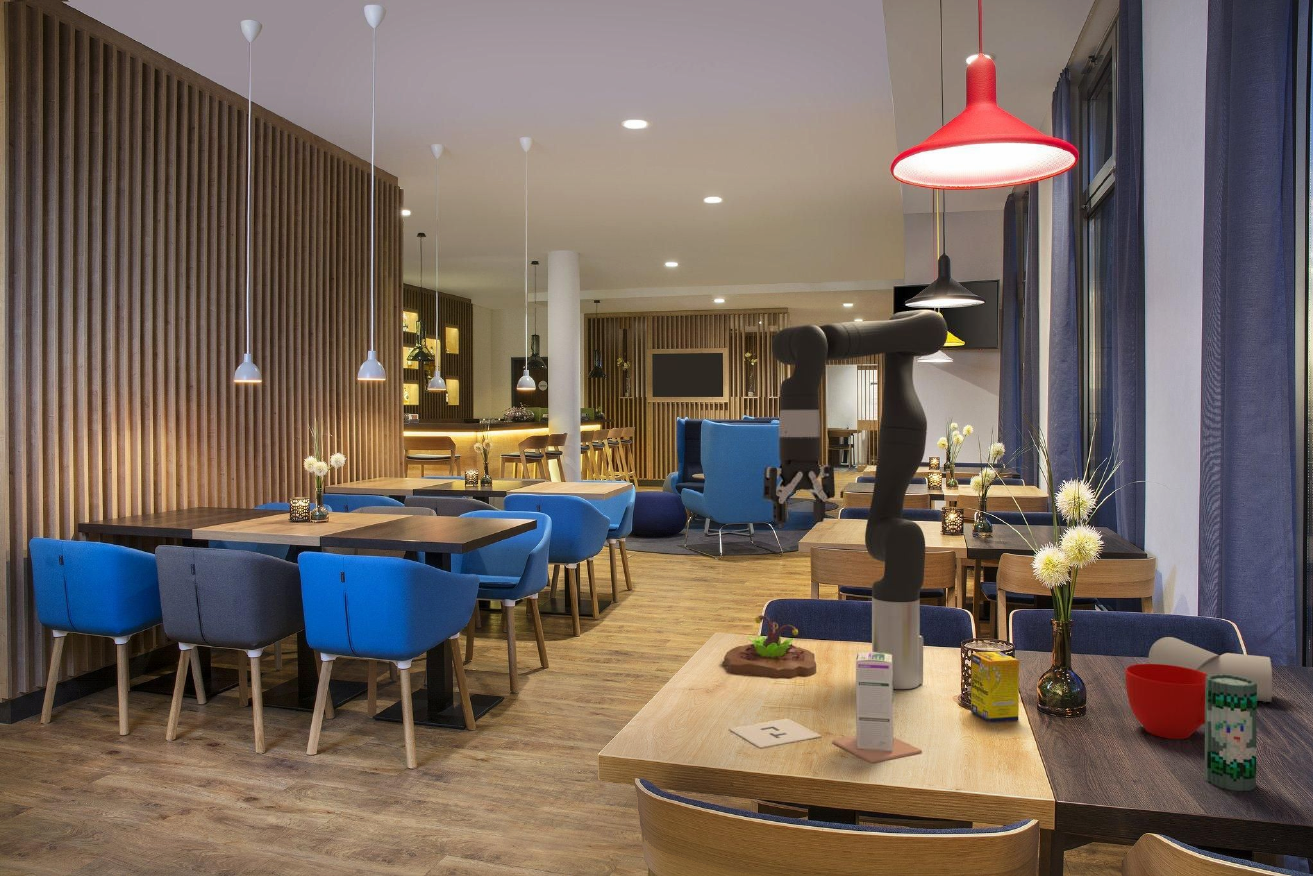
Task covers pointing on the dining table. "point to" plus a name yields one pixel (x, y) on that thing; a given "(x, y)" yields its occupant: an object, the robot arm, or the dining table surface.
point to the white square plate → (774, 733)
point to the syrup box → (874, 701)
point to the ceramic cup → (1167, 698)
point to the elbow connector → (1215, 663)
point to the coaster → (876, 756)
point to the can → (1230, 731)
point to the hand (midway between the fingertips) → (799, 522)
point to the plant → (771, 656)
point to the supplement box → (995, 686)
